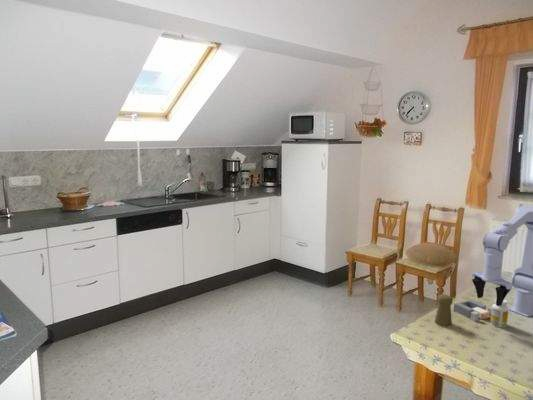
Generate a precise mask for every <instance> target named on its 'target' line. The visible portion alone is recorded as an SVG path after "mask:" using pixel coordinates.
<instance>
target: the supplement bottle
mask: <svg viewBox="0 0 533 400" xmlns="http://www.w3.org/2000/svg"><path fill="white" fill-rule="evenodd" d="M496 299H497V298H494V304H492V305H491V307H492V313H491V316H490V324H491V325H492V326H493V327H496V328H506V327H507V325H508V319H509V318H508V317H509V309H508V308H509V307H508V306H507V305H508V301H507V300H506V299H504V300H503V303H502V305H500V306H497V305H496Z"/></svg>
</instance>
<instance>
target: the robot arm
mask: <svg viewBox="0 0 533 400" xmlns="http://www.w3.org/2000/svg"><path fill="white" fill-rule="evenodd" d="M524 225H525V227H526V228H527V229H526V230H527V231H526V236H525V243H524V248H523V256H522V261H521V265H520V266H518V267H515V268H514V270H513V273H512V276H511V279H510V282H509V281H507V280H506V279H504V278H502V273H503V272H502V270H503V261H504V251H506V250H507V249H508V246H509V244H510V241H511V240H512V239H513V238H514V237H515V236H516V235H517V233H518V229H519V228H521V226H524ZM482 246H483V252H484V261H483V263H484V264H483V272H481V271H478V270H475V271H472V272H471V273H472V275H471V277H473V278H472V280H471V281H472V283H473V285H474V287H475V292H476V296H477V298H478V299H481V298H483V297H484V290H485V287H486V286H485V285H486V283H487V282H488V283H492V284H493V285H496V287H495V292H496V298H495V299H496V305H497V306H500V305H502V303H503V300H505V298H506V296H507V295H508V294H509V292H510V291H511V290H512V289H514V290H515V291H514V301H513V306H511V307H508V311H512V312H514V313H517V314H519V315H521V316H523V317H527V318H528V317H529V318H530V317H532V316H533V205H529V204H523V203H520V204H518V205H517V207H516V208H515V212H514V215H513V217H512V218H511V219H510V220H509V221H505V222H503V223H502V224H500V225H499V226H498V227H497V228H496V229H495V230H494V231H492V232H487V233H486V234H485V235H484V237H483V240H482Z"/></svg>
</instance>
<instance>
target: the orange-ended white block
mask: <svg viewBox="0 0 533 400" xmlns="http://www.w3.org/2000/svg"><path fill="white" fill-rule="evenodd" d="M472 309H474V311H475V312H477V313H479V319H481V320H486V319H491V316H490V312H489V311H488V310H487V309H486V310H484V309H482V308H479V307H475V308H472ZM474 311H473V312H474Z"/></svg>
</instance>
